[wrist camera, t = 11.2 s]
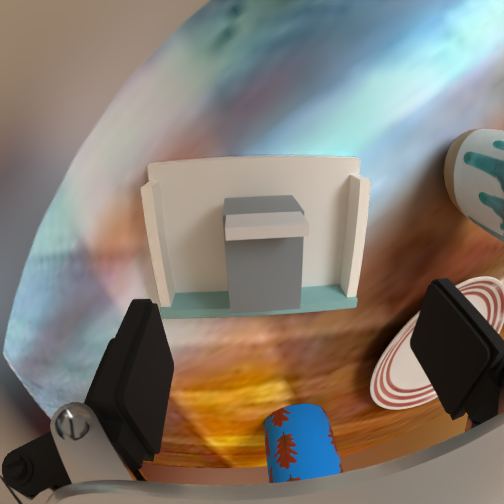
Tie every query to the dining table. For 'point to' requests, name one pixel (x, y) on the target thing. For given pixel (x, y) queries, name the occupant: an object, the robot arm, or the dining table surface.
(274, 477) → the thermos
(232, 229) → the lidded gray box
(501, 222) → the vase
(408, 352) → the dinner plate
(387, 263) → the dining table surface
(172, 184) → the loading dock
